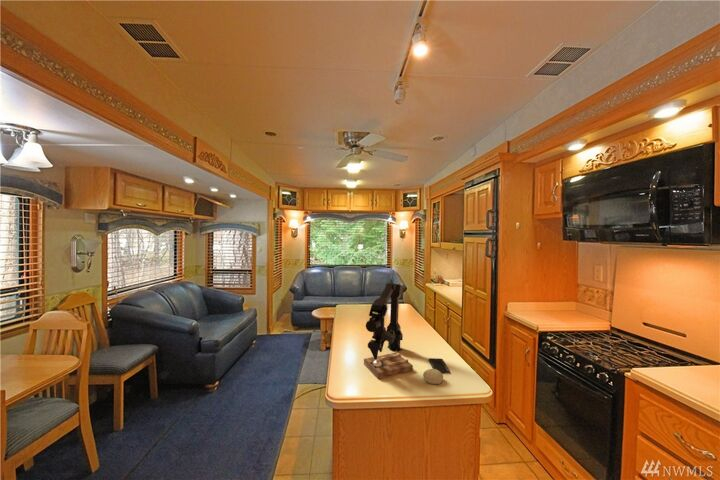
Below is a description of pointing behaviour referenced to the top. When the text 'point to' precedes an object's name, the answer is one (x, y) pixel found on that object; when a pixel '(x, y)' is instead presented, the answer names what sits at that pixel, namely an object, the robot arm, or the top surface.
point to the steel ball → (377, 364)
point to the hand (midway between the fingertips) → (378, 355)
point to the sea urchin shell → (433, 376)
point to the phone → (439, 365)
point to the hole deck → (389, 365)
